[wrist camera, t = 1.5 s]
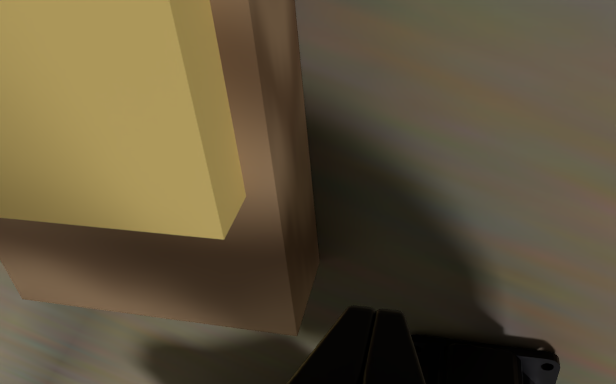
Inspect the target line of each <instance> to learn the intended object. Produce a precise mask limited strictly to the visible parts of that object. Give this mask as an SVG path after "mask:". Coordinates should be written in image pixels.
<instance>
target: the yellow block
mask: <svg viewBox="0 0 616 384" xmlns="http://www.w3.org/2000/svg"><path fill="white" fill-rule="evenodd" d="M245 198H246V193H245V188H244V182H243V177H242V172H241V166H240V161H239V155H238V150H237V145H236V139H235V134H234V129H233V123H232V118H231V113H230V107H229V102H228V97H227V91H226V86H225V80H224V75H223V70H222V64H221V59H220V54H219V48H218V43H217V38H216V32H215V27H214V21H213V16H212V11H211V5H210V0H0V218H8V219H19V220H29V221H39V222H49V223H59V224H69V225H80V226H90V227H100V228H110V229H120V230H131V231H141V232H151V233H161V234H171V235H181V236H192V237H202V238H212V239H222V240H224V239H225V237H226V235H227V233H228V231H229V229H230V227H231V225H232V223H233V221H234V219H235V217H236V215H237V213H238V212H239V210H240V208H241V206H242V204H243V202H244V200H245Z"/></svg>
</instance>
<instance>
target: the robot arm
mask: <svg viewBox="0 0 616 384" xmlns="http://www.w3.org/2000/svg"><path fill="white" fill-rule="evenodd" d="M559 370H560V363H559V358H558V356H557V355H556V354H554V353H551V352H546V351H538V350H530V349H522V348H515V347H507V346H499V345H491V344H483V343H476V342H468V341H460V340H452V339H445V338H437V337H429V336H421V335H411V334H410V331H409V328H408V324H407V321H406V318H405V315H404V314H403V312H401V311H396V310H388V309H379V310H377V312H376V311H375V309H373V308H371V307H363V306H354V305H353V306H349V307H348V308H347V309H346V310H345V311H344V312H343V314H342V315H341V316H340V318H339V319H338V320H337V321H336V323H335V324H334V325H333V326H332V328H331V329H330V330H329V331H328V333H327V334H326V335H325V336H324V338H323V339H322V340H321V341H320V343H319V344H318V345H317V346H316V348H315V349H314V350H313V351H312V353H311V354H310V355H309V356H308V358H307V359H306V360H305V361H304V363H303V364H302V365H301V367H300V368H299V369H298V370H297V372H296V373H295V374H294V375H293V377H292V378H291V379H290V380H289V382H288V383H287V384H555V383H556V380H557V377H558V374H559Z"/></svg>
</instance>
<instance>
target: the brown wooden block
mask: <svg viewBox="0 0 616 384" xmlns="http://www.w3.org/2000/svg"><path fill="white" fill-rule="evenodd" d="M210 5H211V11H212V16H213V21H214V27H215V32H216V38H217V43H218V48H219V54H220V59H221V64H222V70H223V75H224V80H225V86H226V91H227V97H228V102H229V107H230V113H231V118H232V123H233V129H234V134H235V139H236V145H237V150H238V155H239V161H240V166H241V172H242V177H243V182H244V188H245V193H246V198H245V200H244V202H243V204H242V206H241V208H240V210H239V212H238V213H237V215H236V217H235V219H234V221H233V223H232V225H231V227H230V229H229V231H228V233H227V235H226V237H225V239H224V240H222V239H212V238H202V237H192V236H181V235H171V234H161V233H151V232H141V231H131V230H120V229H110V228H100V227H90V226H80V225H69V224H59V223H49V222H39V221H29V220H19V219H8V218H0V260H1V262H2V264H3V265H4V267H5V269H6V271H7V272H8V274H9V276H10V278H11V280H12V281H13V283H14V285H15V287H16V288H17V290H18V292H19V294H20V296H21V297H22V299H26V300H34V301H41V302H48V303H56V304H63V305H70V306H78V307H85V308H92V309H100V310H107V311H115V312H122V313H129V314H137V315H144V316H151V317H159V318H166V319H174V320H181V321H188V322H196V323H203V324H210V325H218V326H225V327H232V328H240V329H247V330H255V331H262V332H269V333H277V334H284V335H291V336H297V335H298V332H299V329H300V325H301V322H302V319H303V315H304V312H305V309H306V305H307V302H308V299H309V295H310V292H311V289H312V286H313V282H314V279H315V276H316V272H317V269H318V266H319V262H320V260H319V249H318V239H317V229H316V218H315V208H314V198H313V187H312V177H311V166H310V156H309V146H308V135H307V125H306V115H305V104H304V94H303V83H302V73H301V63H300V52H299V42H298V31H297V21H296V11H295V0H210Z"/></svg>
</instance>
